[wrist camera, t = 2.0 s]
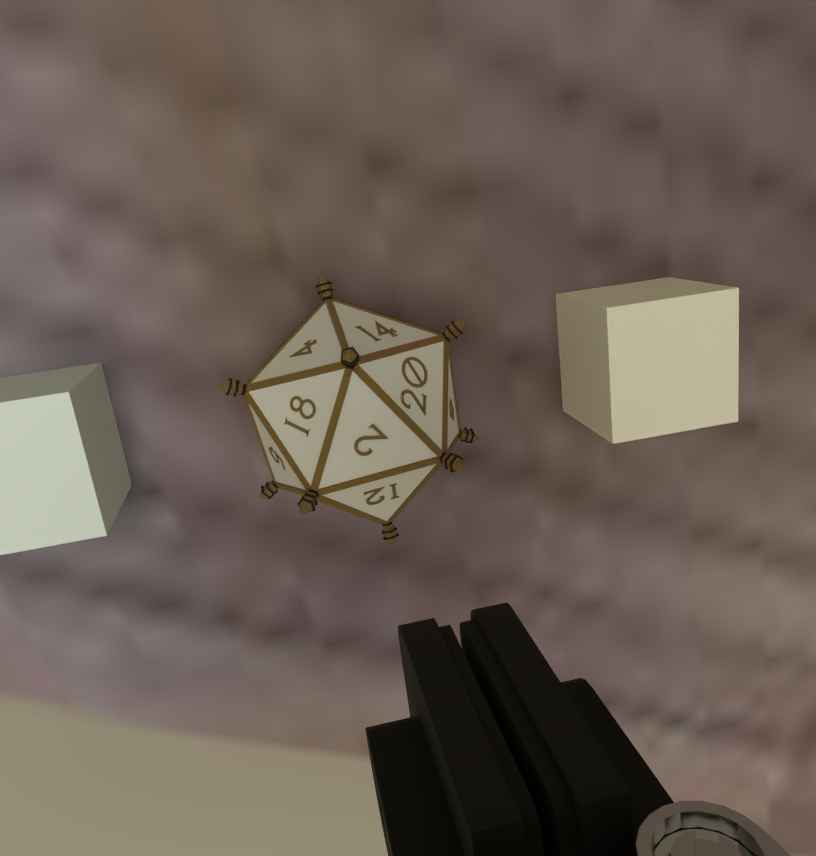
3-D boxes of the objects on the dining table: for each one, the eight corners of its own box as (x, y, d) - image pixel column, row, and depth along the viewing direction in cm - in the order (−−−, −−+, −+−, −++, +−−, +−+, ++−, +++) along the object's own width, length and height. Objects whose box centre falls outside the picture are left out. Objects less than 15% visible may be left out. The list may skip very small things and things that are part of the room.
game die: (310, 335, 33) (274, 188, 24) (495, 395, 32) (532, 267, 23) (225, 523, 30) (146, 439, 21) (426, 596, 29) (437, 542, 20)
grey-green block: (101, 362, 29) (68, 391, 24) (132, 484, 30) (106, 535, 25) (-38, 383, 28) (-101, 418, 23) (0, 507, 29) (-52, 564, 25)
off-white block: (668, 276, 32) (738, 287, 27) (670, 391, 33) (738, 421, 28) (554, 293, 31) (606, 308, 26) (562, 410, 32) (612, 443, 28)
